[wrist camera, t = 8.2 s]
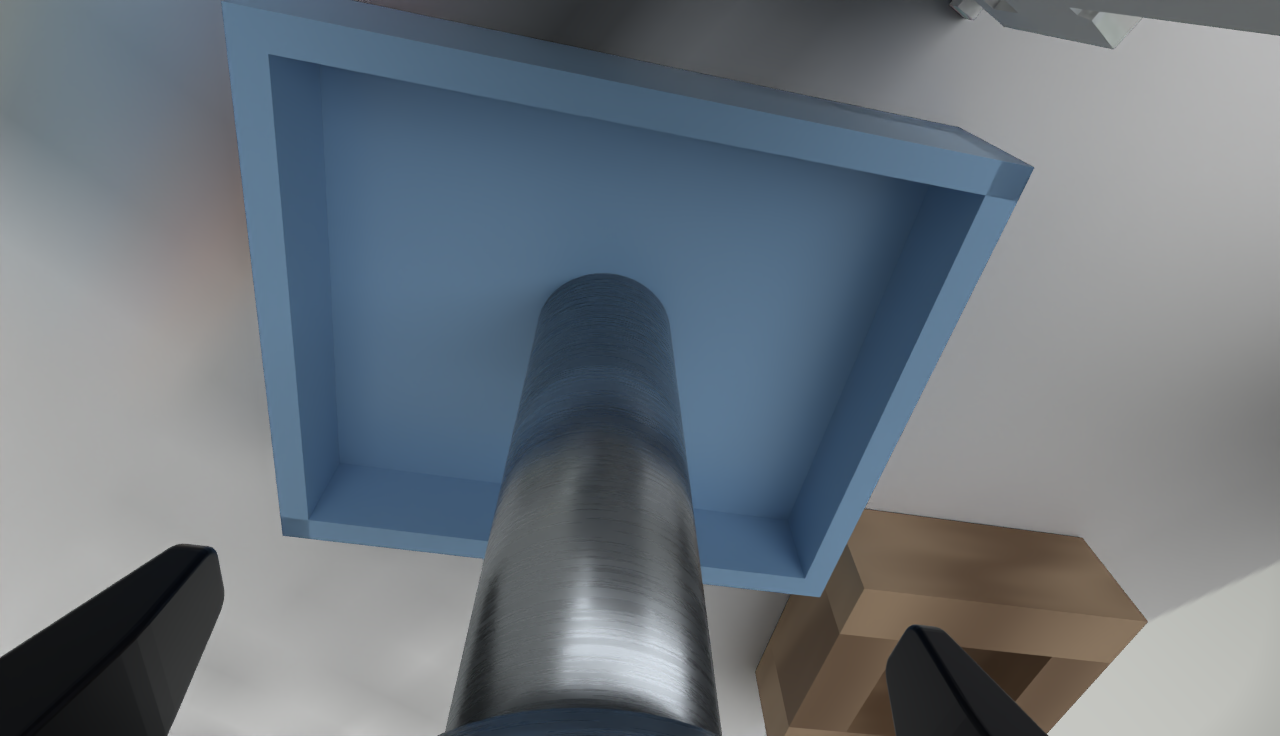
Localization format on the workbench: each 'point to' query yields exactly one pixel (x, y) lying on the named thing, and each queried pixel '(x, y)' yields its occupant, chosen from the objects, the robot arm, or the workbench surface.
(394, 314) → the tray
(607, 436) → the pin
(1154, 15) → the circuit breaker
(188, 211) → the workbench surface
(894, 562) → the hole block
